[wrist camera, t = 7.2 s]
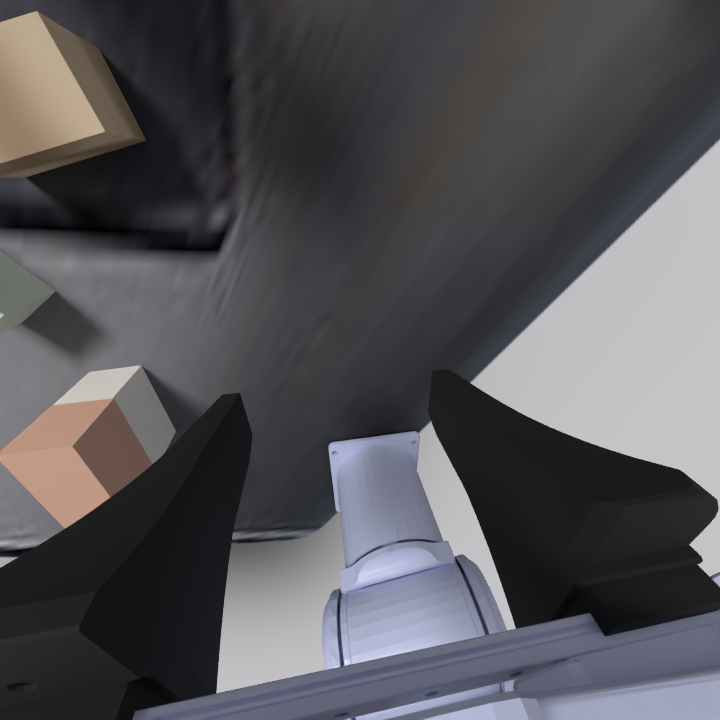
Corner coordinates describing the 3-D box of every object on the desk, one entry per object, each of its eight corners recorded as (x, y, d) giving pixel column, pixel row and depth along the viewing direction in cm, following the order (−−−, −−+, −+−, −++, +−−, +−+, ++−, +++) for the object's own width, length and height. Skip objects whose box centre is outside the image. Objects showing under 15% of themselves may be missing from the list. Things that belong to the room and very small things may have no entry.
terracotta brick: (155, 469, 20) (128, 521, 17) (103, 476, 20) (66, 530, 17) (113, 398, 17) (72, 446, 14) (51, 405, 17) (-6, 456, 14)
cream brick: (176, 430, 23) (156, 468, 20) (132, 437, 23) (105, 477, 20) (141, 364, 20) (112, 398, 17) (90, 371, 20) (50, 406, 17)
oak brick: (100, 50, 13) (36, 11, 10) (147, 140, 15) (105, 131, 11) (-35, 91, 13) (-141, 65, 10) (28, 176, 15) (-46, 177, 12)
